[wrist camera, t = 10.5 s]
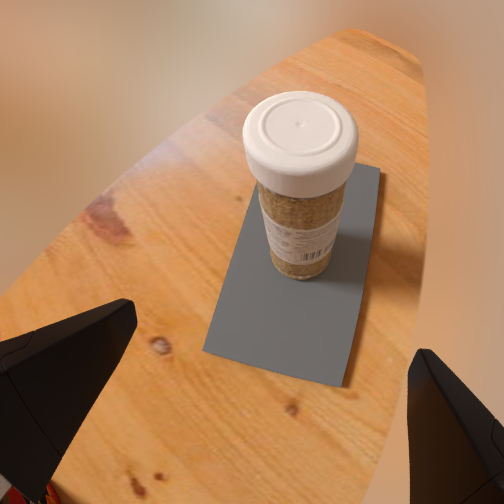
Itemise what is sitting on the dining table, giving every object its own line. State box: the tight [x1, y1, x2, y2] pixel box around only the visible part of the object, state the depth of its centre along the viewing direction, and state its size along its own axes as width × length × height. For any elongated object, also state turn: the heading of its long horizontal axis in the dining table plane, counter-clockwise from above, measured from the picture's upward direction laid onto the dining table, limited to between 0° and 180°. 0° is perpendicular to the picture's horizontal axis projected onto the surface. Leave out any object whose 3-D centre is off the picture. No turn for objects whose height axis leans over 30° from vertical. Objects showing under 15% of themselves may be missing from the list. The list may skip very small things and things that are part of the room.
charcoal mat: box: [202, 163, 380, 388], centre depth 24 cm, size 18×10×1 cm, turn 163°
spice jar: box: [243, 91, 359, 280], centre depth 18 cm, size 5×5×14 cm
